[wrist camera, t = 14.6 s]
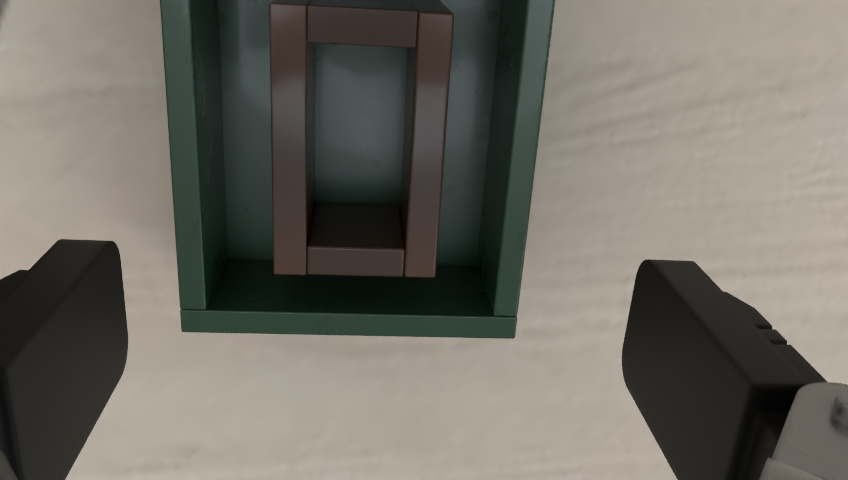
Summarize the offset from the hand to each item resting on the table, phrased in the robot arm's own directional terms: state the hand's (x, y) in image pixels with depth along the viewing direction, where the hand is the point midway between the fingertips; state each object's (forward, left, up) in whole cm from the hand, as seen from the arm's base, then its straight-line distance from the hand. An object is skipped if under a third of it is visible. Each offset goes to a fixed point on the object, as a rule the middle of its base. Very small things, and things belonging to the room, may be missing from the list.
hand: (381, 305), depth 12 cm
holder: (+1, -1, -15) cm, 15 cm away
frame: (+1, 0, -15) cm, 15 cm away
